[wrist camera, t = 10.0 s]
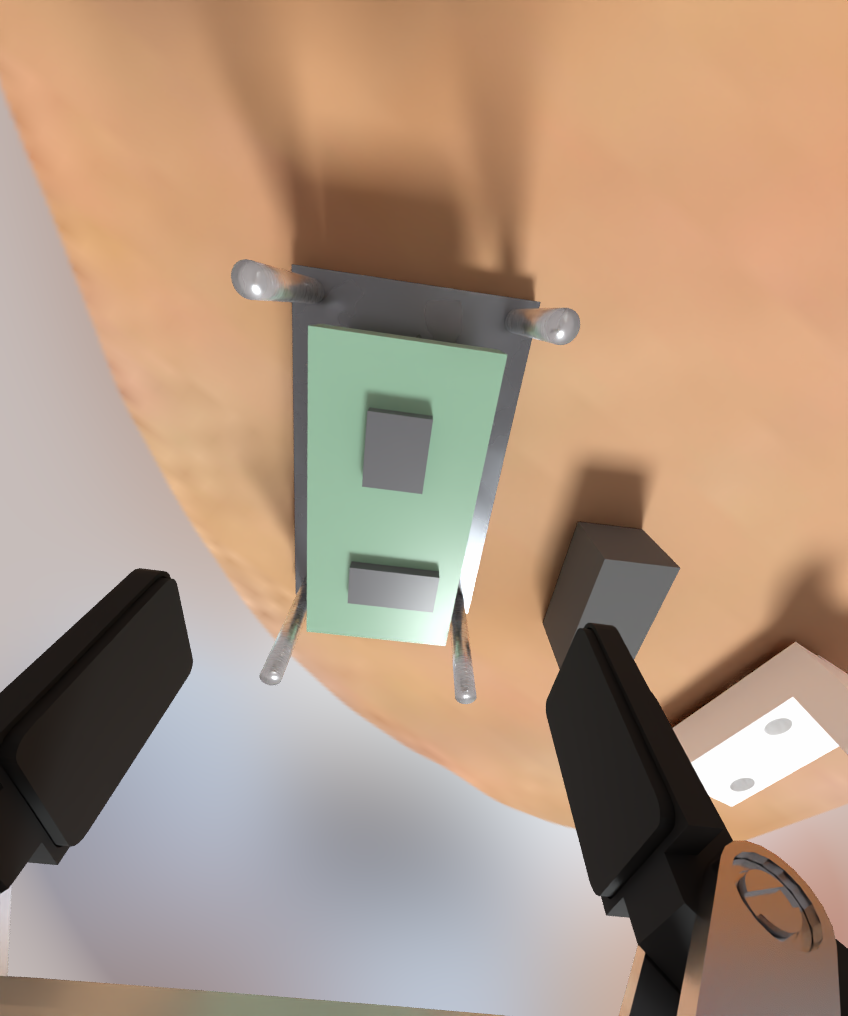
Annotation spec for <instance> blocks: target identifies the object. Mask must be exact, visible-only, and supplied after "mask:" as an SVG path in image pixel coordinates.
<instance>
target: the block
mask: <svg viewBox="0 0 848 1016" xmlns="http://www.w3.org/2000/svg"><path fill="white" fill-rule="evenodd" d="M679 570H680V567H679V566H678V565H677V564H676V563H675V562H674V561H673V560H672V559H671V558H670V557H669V556H668V555H667V554H666V553H665V552H664V551H663V550H662V549H661V548H660V547H659V546H658V545H657V544H656V543H655V542H654V541H653V540H652V539H651V538H650V537H649V536H648V535H647V534H646V533H645V532H644V531H643V530H642V529H634V528H626V527H618V526H610V525H602V524H594V523H586V522H578V523H577V526H576V529H575V532H574V535H573V538H572V540H571V543H570V546H569V549H568V552H567V555H566V558H565V561H564V564H563V566H562V569H561V572H560V575H559V578H558V581H557V584H556V587H555V590H554V592H553V595H552V598H551V601H550V604H549V607H548V610H547V613H546V616H545V618H544V621H543V625H544V628H545V631H546V634H547V636H548V639H549V642H550V644H551V647H552V650H553V652H554V655H555V658H556V661H557V663H558V666H559V669H560V668H561V666H562V664H563V661H564V659H565V657H566V654H567V652H568V650H569V648H570V645H571V643H572V641H573V638H574V636H575V634H576V632H577V630H578V629H579V628H584V626H585V625H586V624H587V623H597V624H605V625H613V626H614V627H616V628H617V630H618V631H619V633H620V635H621V637H622V639H623V641H624V643H625V644H626V646H627V648H628V650H629V652H630V654H631V656H632V658H633V659H635V657H636V655H637V653H638V651H639V649H640V647H641V645H642V643H643V641H644V639H645V637H646V635H647V633H648V631H649V629H650V627H651V625H652V623H653V621H654V619H655V617H656V615H657V613H658V611H659V609H660V607H661V605H662V603H663V601H664V599H665V597H666V595H667V593H668V591H669V589H670V587H671V585H672V583H673V581H674V579H675V577H676V575H677V574H678V572H679Z"/></svg>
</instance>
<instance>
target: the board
mask: <svg viewBox="0 0 848 1016" xmlns="http://www.w3.org/2000/svg"><path fill="white" fill-rule="evenodd" d="M506 359H507V354H505V353H504V352H502V351H500V350H497V349H490V348H483V347H477V346H470V345H463V344H456V343H449V342H442V341H436V340H429V339H422V338H415V337H408V336H401V335H394V334H388V333H381V332H374V331H367V330H360V329H353V328H346V327H340V326H333V325H326V324H317V325H309V326H308V442H307V632H317V633H326V634H336V635H345V636H355V637H364V638H374V639H383V640H393V641H402V642H412V643H421V644H431V645H440V646H446V641H447V636H448V632H449V627H450V622H451V617H452V613H453V608H454V603H455V599H456V594H457V589H458V585H459V580H460V575H461V571H462V566H463V561H464V556H465V552H466V547H467V542H468V538H469V533H470V528H471V524H472V519H473V514H474V510H475V505H476V500H477V495H478V491H479V486H480V481H481V477H482V472H483V467H484V463H485V458H486V453H487V449H488V444H489V439H490V434H491V430H492V425H493V420H494V416H495V411H496V406H497V402H498V397H499V392H500V387H501V383H502V378H503V373H504V369H505V364H506Z"/></svg>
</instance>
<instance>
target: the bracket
mask: <svg viewBox="0 0 848 1016" xmlns="http://www.w3.org/2000/svg"><path fill="white" fill-rule="evenodd" d="M672 729H673V731H674V732H675V734H676V736H677V738H678V740H679V742H680V744H681V745H682V747H683V749H684V751H685V753H686V755H687V756H688V758H689V760H690V762H691V764H692V766H693V768H694V769H695V771H696V773H697V775H698V777H699V779H700V781H701V782H702V784H703V786H704V788H705V790H706V792H707V794H708V795H709V796H710V797H712V798H714V799H716V800H718V801H720V802H723V803H725V804H727V805H729V806H731V807H732V806H734V805H736V804H738V803H740V802H741V801H743V800H745V799H747V798H748V797H750V796H752V795H754V794H755V793H757V792H759V791H761V790H763V789H764V788H766V787H768V786H770V785H771V784H773V783H775V782H777V781H778V780H780V779H782V778H784V777H786V776H787V775H789V774H791V773H793V772H794V771H796V770H798V769H800V768H801V767H803V766H805V765H807V764H809V763H810V762H812V761H814V760H816V759H817V758H819V757H821V756H823V755H824V754H826V753H828V752H830V751H832V750H833V749H835V748H837V747H839V746H840V747H841V748H842V749H843V750H844V751H845V753H846V754H847V755H848V674H847V673H846V672H844V671H842V670H841V669H839V668H838V667H836V666H835V665H833V664H832V663H830V662H829V661H827V660H826V659H824V658H823V657H821V656H820V655H818V656H817V655H815V654H814V653H812V652H810V651H809V650H807V649H806V648H804V647H803V646H801V645H800V644H798V643H797V642H794V643H793V644H792V645H790V646H789V647H787V648H786V649H784V650H783V651H782V652H780V653H779V654H777V655H776V656H774V657H773V658H772V659H770V660H769V661H767V662H766V663H764V664H763V665H762V666H760V667H759V668H757V669H756V670H754V671H753V672H752V673H750V674H749V675H747V676H746V677H745V678H743V679H742V680H740V681H739V682H737V683H736V684H735V685H733V686H732V687H730V688H729V689H727V690H726V691H725V692H723V693H722V694H720V695H719V696H717V697H716V698H715V699H713V700H712V701H710V702H709V703H708V704H706V705H705V706H703V707H702V708H700V709H699V710H698V711H696V712H695V713H693V714H692V715H690V716H689V717H688V718H686V719H685V720H683V721H682V722H680V723H679V724H678V725H676V726H675V727H673V728H672Z"/></svg>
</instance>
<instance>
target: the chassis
mask: <svg viewBox="0 0 848 1016" xmlns="http://www.w3.org/2000/svg"><path fill="white" fill-rule="evenodd" d="M231 279H232V283H233V286H234V288H235V289H236V291H237V292H238V293H239V294H240V295H241V296H242V297H244V298H246V299H250V300H264V301H280V302H292V330H293V410H294V491H295V572H296V597H295V599H294V602H293V604H292V606H291V608H290V610H289V612H288V615H287V617H286V619H285V621H284V623H283V625H282V628H281V630H280V632H279V634H278V636H277V638H276V641H275V643H274V645H273V647H272V649H271V652H270V654H269V656H268V658H267V660H266V663H265V665H264V667H263V669H262V671H261V673H260V679H261V680H262V681H263V682H264V683H265V684H268V685H277V684H279V683H280V682H281V680H282V677H283V675H284V672H285V670H286V667H287V664H288V662H289V659H290V657H291V654H292V652H293V649H294V647H295V644H296V642H297V639H298V637H299V634H300V632H301V629H302V627H303V624H304V621H305V619H306V616H307V442H308V326H309V325H317V324H326V325H333V326H340V327H346V328H353V329H360V330H367V331H374V332H381V333H388V334H394V335H401V336H408V337H415V338H422V339H429V340H436V341H442V342H449V343H456V344H463V345H470V346H477V347H483V348H490V349H497V350H500V351H502V352H504V353H505V354H507V359H506V364H505V369H504V373H503V378H502V383H501V387H500V392H499V397H498V402H497V406H496V411H495V416H494V420H493V425H492V430H491V434H490V439H489V444H488V449H487V453H486V458H485V463H484V467H483V472H482V477H481V481H480V486H479V491H478V495H477V500H476V505H475V510H474V514H473V519H472V524H471V528H470V533H469V538H468V542H467V547H466V552H465V556H464V561H463V566H462V571H461V575H460V580H459V585H458V589H457V594H456V599H455V603H454V608H453V613H452V617H451V622H450V631H451V645H452V658H453V672H454V686H455V698H456V700H457V701H458V702H459V703H462V704H469V703H472V702H473V701H475V699H476V690H475V682H474V674H473V666H472V658H471V650H470V642H469V635H468V627H467V619H466V613H468V610H469V606H470V601H471V597H472V593H473V589H474V584H475V580H476V576H477V571H478V567H479V563H480V559H481V554H482V550H483V546H484V542H485V537H486V533H487V529H488V524H489V520H490V516H491V512H492V507H493V503H494V499H495V494H496V490H497V486H498V482H499V477H500V473H501V469H502V465H503V460H504V456H505V452H506V447H507V443H508V439H509V435H510V430H511V426H512V422H513V418H514V413H515V409H516V405H517V400H518V396H519V392H520V388H521V383H522V379H523V375H524V371H525V366H526V362H527V358H528V353H529V349H530V345H531V341H532V338H534V339H538V340H541V341H545V342H549V343H553V344H557V345H564V344H567V343H569V342H571V341H572V340H573V339H574V338H575V337H576V335H577V334H578V332H579V329H580V319H579V316H578V314H577V313H576V312H575V311H574V310H572V309H569V308H541V309H539V306H540V302H537V301H530V300H523V299H517V298H510V297H504V296H497V295H491V294H484V293H477V292H471V291H464V290H458V289H451V288H445V287H438V286H431V285H425V284H418V283H412V282H405V281H399V280H392V279H385V278H379V277H372V276H366V275H359V274H353V273H346V272H339V271H333V270H326V269H320V268H313V267H307V266H300V265H293V264H292V272H290V271H287V270H283V269H280V268H276V267H273V266H269V265H266V264H262V263H259V262H255V261H252V260H247V259H245V260H240V261H238V262H237V263H236V264H235V265H234V267H233V269H232V273H231Z"/></svg>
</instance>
